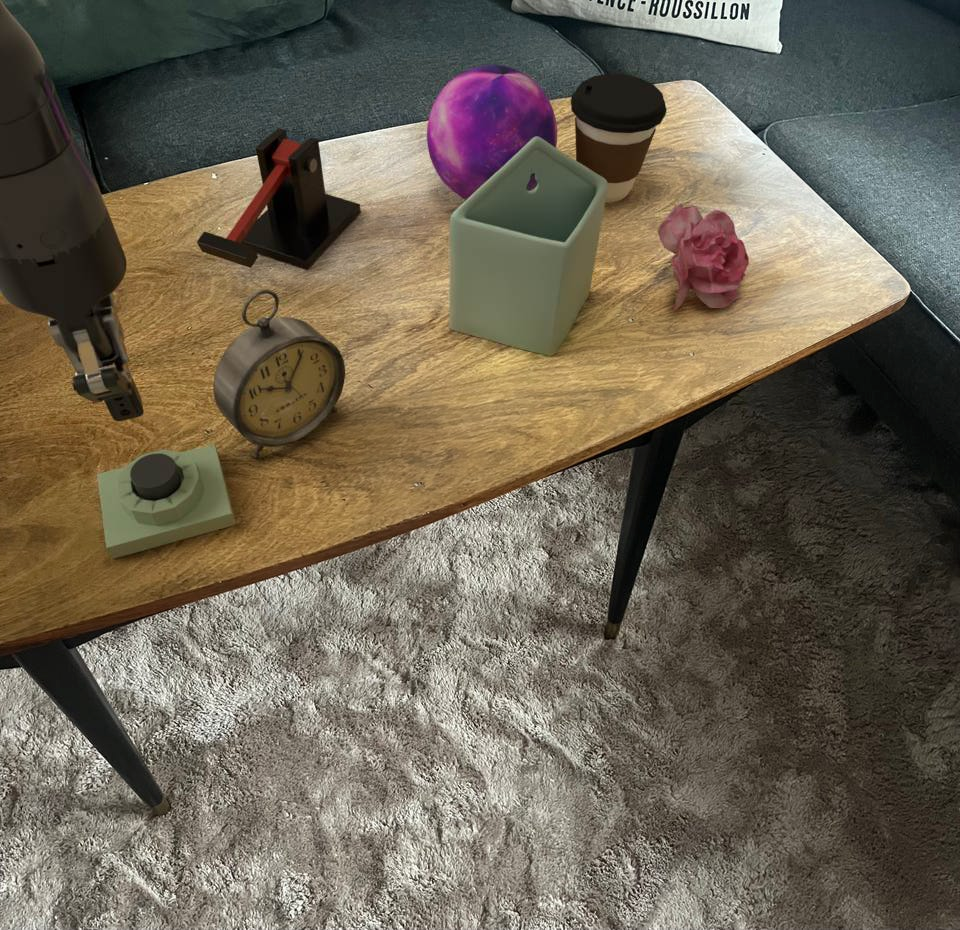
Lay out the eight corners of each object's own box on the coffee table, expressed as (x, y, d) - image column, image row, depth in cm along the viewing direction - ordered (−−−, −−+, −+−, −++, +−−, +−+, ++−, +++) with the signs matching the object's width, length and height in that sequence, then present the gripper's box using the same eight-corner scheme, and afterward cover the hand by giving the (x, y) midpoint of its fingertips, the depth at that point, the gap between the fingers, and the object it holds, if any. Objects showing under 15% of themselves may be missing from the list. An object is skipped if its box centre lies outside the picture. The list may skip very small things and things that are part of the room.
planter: (477, 377, 82) (485, 203, 66) (448, 326, 86) (448, 152, 71) (622, 336, 86) (661, 164, 71) (587, 290, 91) (616, 118, 75)
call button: (139, 505, 67) (132, 492, 66) (133, 472, 69) (127, 459, 68) (184, 493, 68) (179, 480, 67) (177, 461, 70) (172, 448, 69)
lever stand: (307, 270, 91) (292, 183, 83) (238, 247, 93) (217, 160, 85) (360, 212, 98) (352, 126, 90) (295, 192, 100) (281, 107, 92)
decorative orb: (526, 243, 95) (537, 120, 84) (407, 212, 99) (402, 88, 87) (566, 176, 104) (581, 56, 93) (456, 149, 107) (457, 30, 96)
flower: (741, 311, 94) (780, 288, 84) (657, 327, 93) (686, 305, 83) (720, 214, 95) (756, 179, 85) (636, 229, 94) (663, 195, 84)
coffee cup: (553, 206, 100) (564, 111, 91) (567, 158, 107) (579, 65, 98) (643, 220, 99) (664, 125, 90) (652, 171, 106) (672, 78, 96)
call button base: (112, 559, 68) (98, 535, 65) (103, 485, 72) (89, 460, 69) (236, 524, 70) (227, 500, 67) (219, 455, 75) (210, 430, 72)
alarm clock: (253, 476, 73) (212, 340, 61) (222, 440, 76) (176, 302, 63) (354, 417, 78) (336, 279, 65) (321, 385, 80) (298, 247, 68)
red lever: (252, 271, 84) (244, 255, 82) (203, 254, 86) (194, 239, 83) (322, 164, 90) (317, 147, 87) (275, 150, 91) (268, 133, 89)
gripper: (-33, 165, 51) (69, 365, 65) (-32, 299, 44) (84, 493, 57) (93, 144, 53) (167, 342, 67) (116, 269, 46) (194, 464, 59)
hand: (129, 412), depth 62 cm, fingers closed
